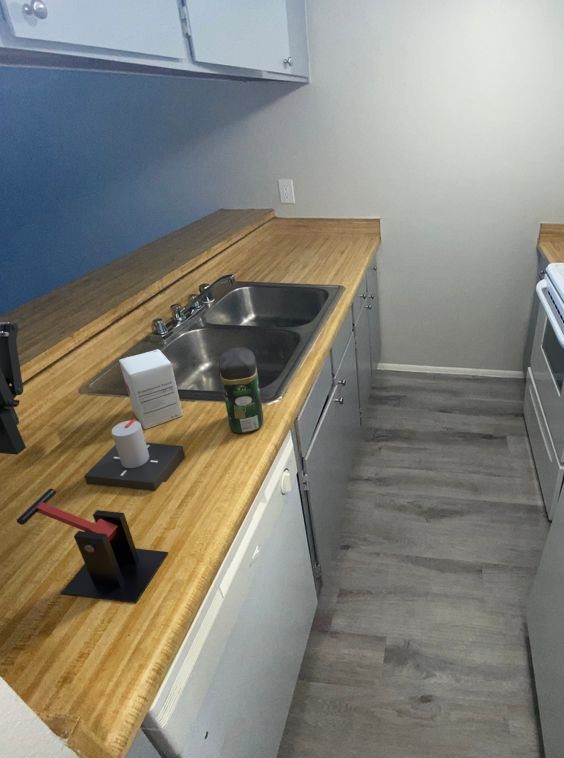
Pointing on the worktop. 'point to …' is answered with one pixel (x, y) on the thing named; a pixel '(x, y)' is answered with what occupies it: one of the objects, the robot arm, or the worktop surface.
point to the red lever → (66, 517)
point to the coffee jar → (241, 390)
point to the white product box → (151, 388)
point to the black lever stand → (113, 563)
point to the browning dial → (130, 444)
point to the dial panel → (137, 468)
